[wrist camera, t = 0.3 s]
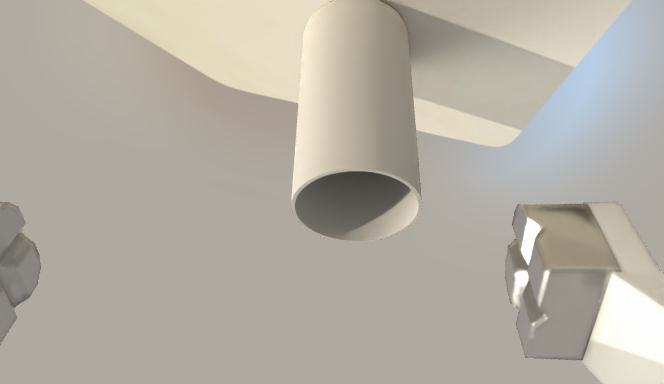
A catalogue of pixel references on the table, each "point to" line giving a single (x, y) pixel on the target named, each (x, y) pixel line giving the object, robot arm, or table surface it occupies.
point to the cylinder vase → (356, 125)
